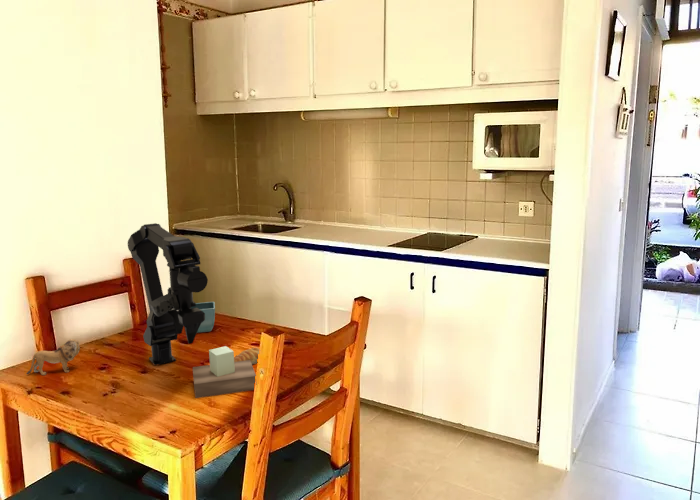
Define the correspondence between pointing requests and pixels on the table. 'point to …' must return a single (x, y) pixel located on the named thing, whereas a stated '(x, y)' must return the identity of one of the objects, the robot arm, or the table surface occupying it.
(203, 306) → the flower pot
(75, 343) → the lion figurine
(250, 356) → the pastry
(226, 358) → the sage cube
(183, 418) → the table surface
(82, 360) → the table surface
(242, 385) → the walnut box
